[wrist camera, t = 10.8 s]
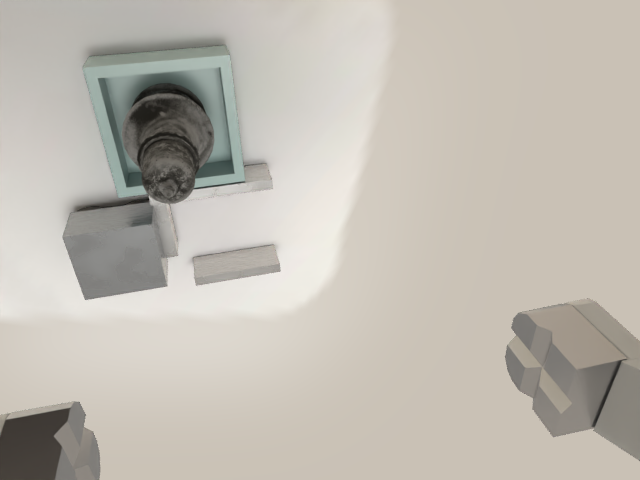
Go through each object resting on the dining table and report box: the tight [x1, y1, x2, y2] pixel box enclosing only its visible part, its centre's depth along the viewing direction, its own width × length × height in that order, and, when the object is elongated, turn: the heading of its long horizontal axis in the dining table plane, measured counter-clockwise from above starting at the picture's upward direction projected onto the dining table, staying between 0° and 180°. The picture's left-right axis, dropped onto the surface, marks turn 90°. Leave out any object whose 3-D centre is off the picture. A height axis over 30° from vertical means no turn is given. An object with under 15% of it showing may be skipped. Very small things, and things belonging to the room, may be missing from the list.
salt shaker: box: [122, 83, 215, 204], centre depth 32 cm, size 6×6×12 cm
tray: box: [83, 45, 245, 198], centre depth 36 cm, size 9×9×3 cm
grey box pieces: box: [63, 163, 280, 300], centre depth 40 cm, size 15×9×4 cm, turn 92°
